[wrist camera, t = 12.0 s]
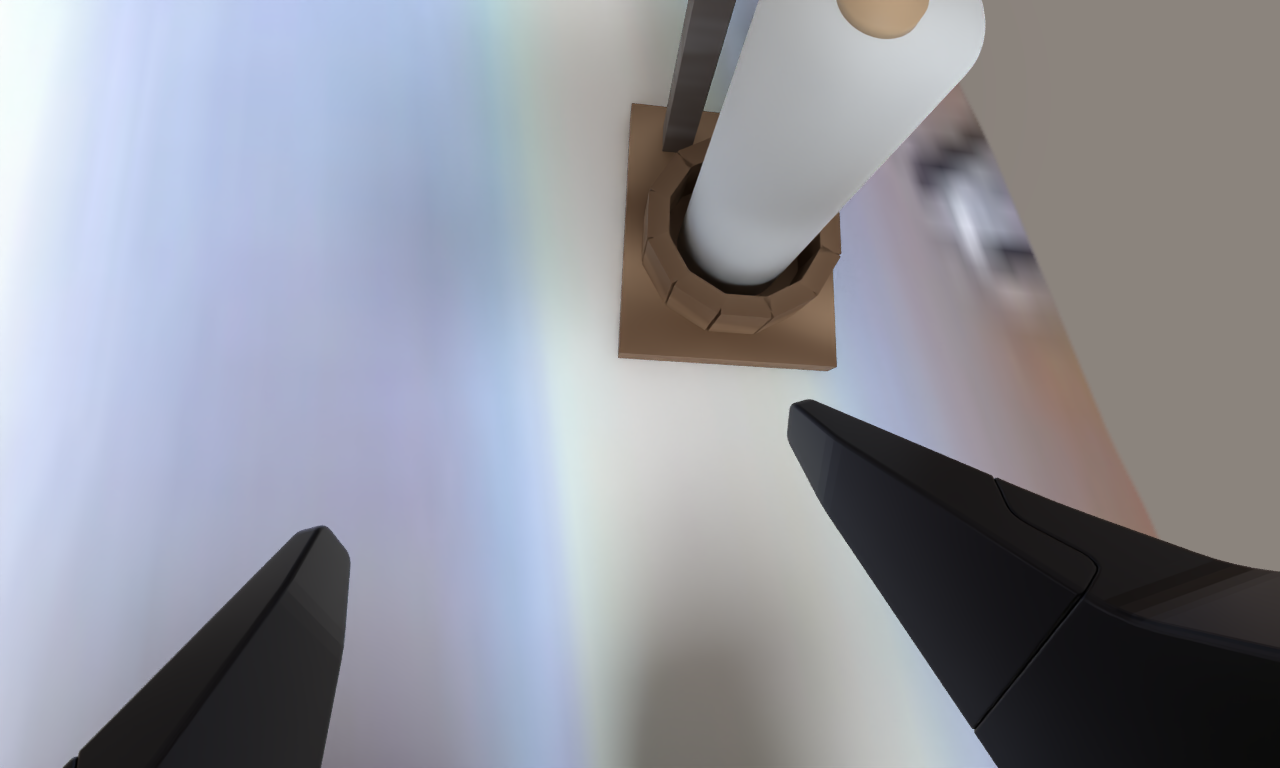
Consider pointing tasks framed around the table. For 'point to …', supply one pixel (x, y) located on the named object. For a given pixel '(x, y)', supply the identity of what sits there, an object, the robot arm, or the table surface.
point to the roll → (815, 123)
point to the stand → (655, 208)
